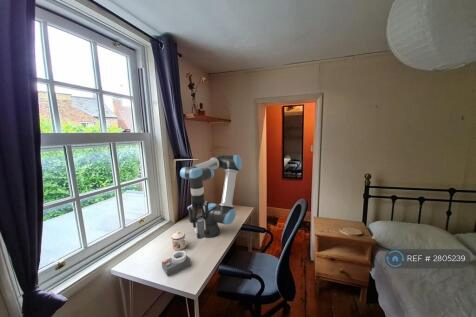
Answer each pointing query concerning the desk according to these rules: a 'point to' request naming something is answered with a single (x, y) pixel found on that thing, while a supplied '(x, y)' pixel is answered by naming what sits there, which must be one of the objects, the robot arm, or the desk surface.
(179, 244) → the teacup with lid
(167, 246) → the desk surface
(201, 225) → the grey flashlight
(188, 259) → the camera body
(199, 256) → the desk surface
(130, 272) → the desk surface
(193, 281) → the desk surface
